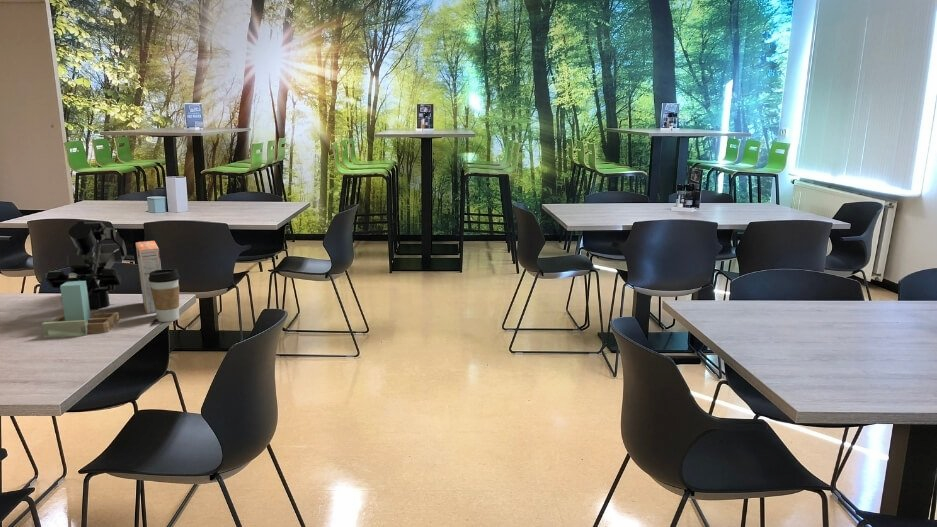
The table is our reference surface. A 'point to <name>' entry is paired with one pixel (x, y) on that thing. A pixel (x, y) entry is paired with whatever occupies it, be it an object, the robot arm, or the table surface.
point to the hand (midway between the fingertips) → (79, 303)
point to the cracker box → (147, 270)
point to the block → (75, 301)
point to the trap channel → (80, 325)
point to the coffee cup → (165, 293)
